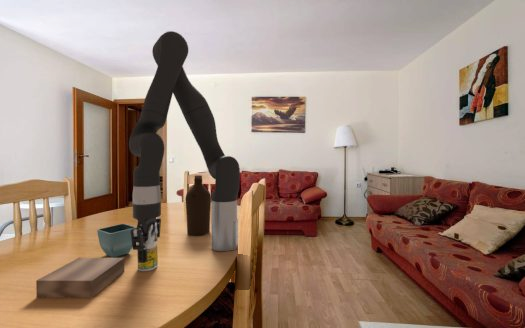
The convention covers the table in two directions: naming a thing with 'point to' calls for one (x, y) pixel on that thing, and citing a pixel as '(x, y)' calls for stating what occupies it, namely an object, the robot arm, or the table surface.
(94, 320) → the table surface
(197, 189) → the olive oil
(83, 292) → the walnut plinth
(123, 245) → the flower pot
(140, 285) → the table surface
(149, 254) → the supplement bottle
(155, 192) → the robot arm
